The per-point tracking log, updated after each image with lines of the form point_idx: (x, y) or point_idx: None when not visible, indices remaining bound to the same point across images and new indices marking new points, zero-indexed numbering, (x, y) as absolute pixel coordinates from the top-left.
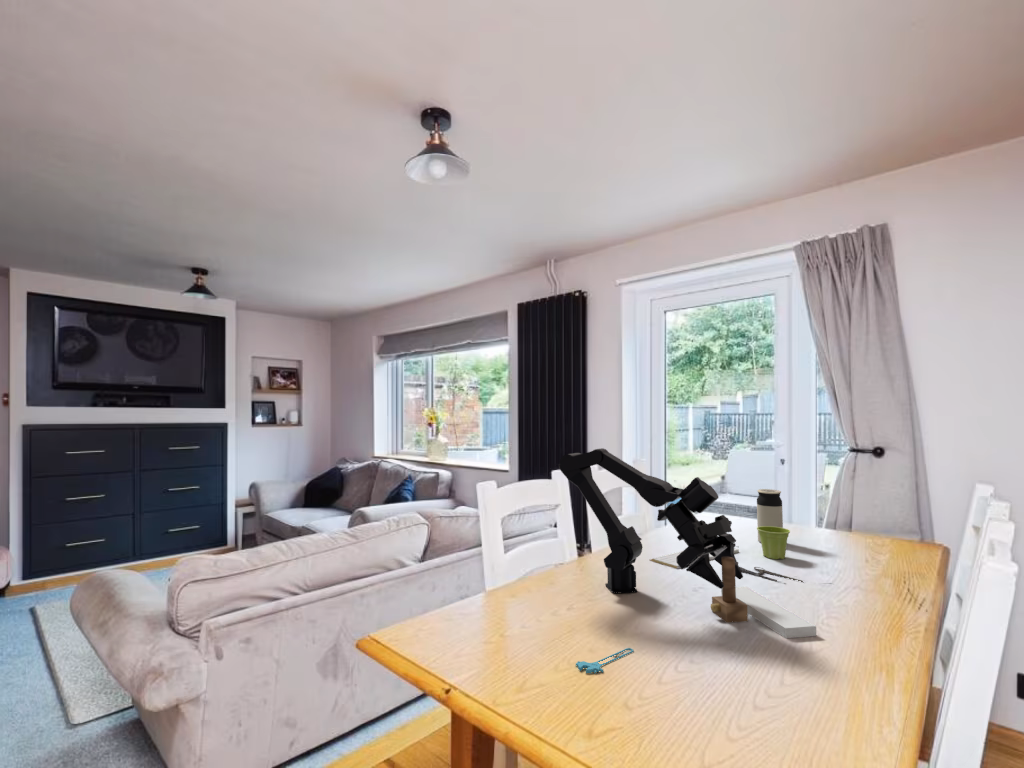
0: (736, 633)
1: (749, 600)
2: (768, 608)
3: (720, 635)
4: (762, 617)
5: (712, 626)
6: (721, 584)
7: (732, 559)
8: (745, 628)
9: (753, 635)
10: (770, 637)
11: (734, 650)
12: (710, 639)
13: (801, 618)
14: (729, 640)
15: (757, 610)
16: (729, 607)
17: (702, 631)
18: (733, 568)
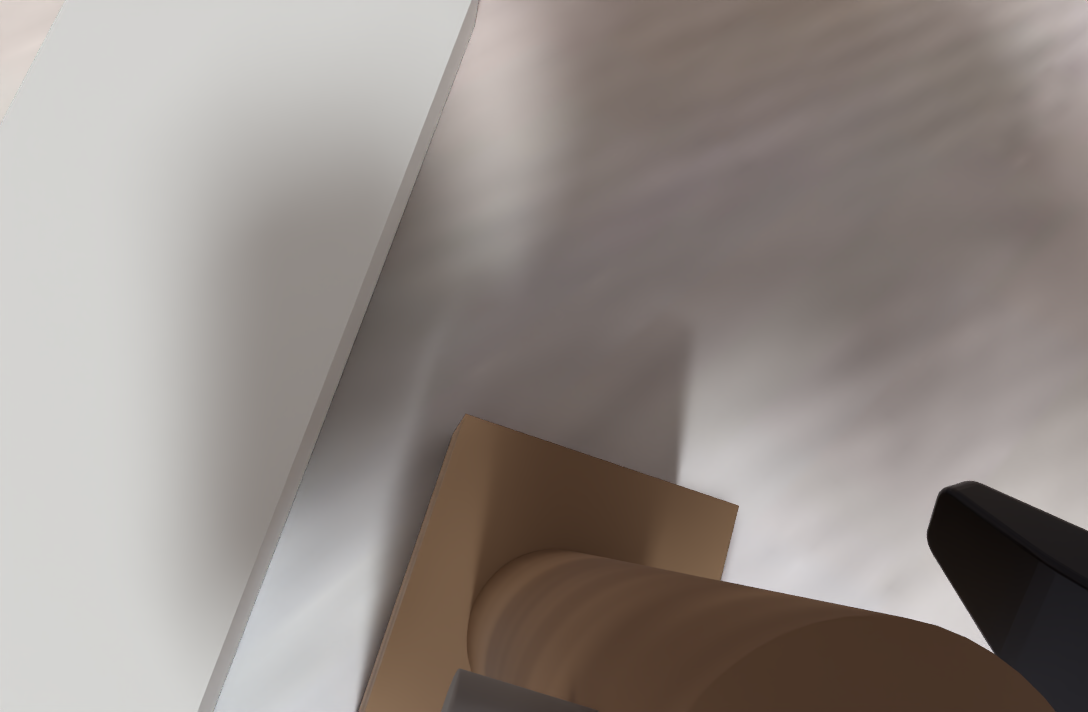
0: (773, 299)
1: (75, 691)
2: (123, 374)
3: (923, 340)
4: (358, 310)
5: (857, 510)
6: (1011, 501)
7: (845, 676)
8: (616, 329)
9: (672, 200)
10: (574, 103)
11: (1005, 114)
12: (1045, 328)
13: (84, 5)
14: (923, 240)
15: (310, 397)
16: (696, 492)
17: (1007, 472)
18: (724, 588)
